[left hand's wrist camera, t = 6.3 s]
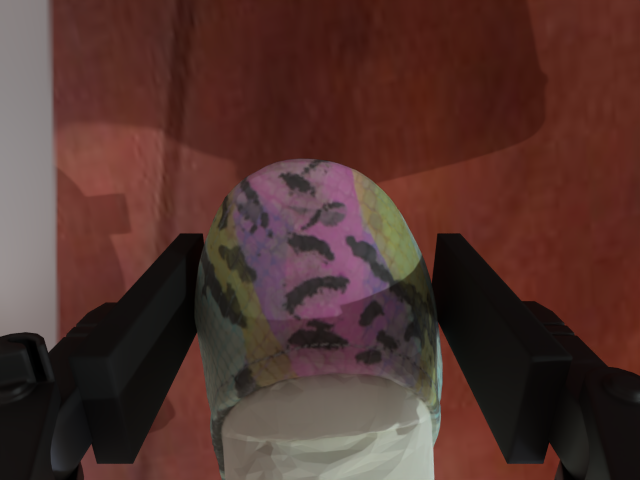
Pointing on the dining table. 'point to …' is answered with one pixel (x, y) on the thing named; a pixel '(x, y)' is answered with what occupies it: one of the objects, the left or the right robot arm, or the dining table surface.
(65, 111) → the dining table surface
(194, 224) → the dining table surface
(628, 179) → the dining table surface
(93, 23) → the dining table surface
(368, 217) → the ballet flat
